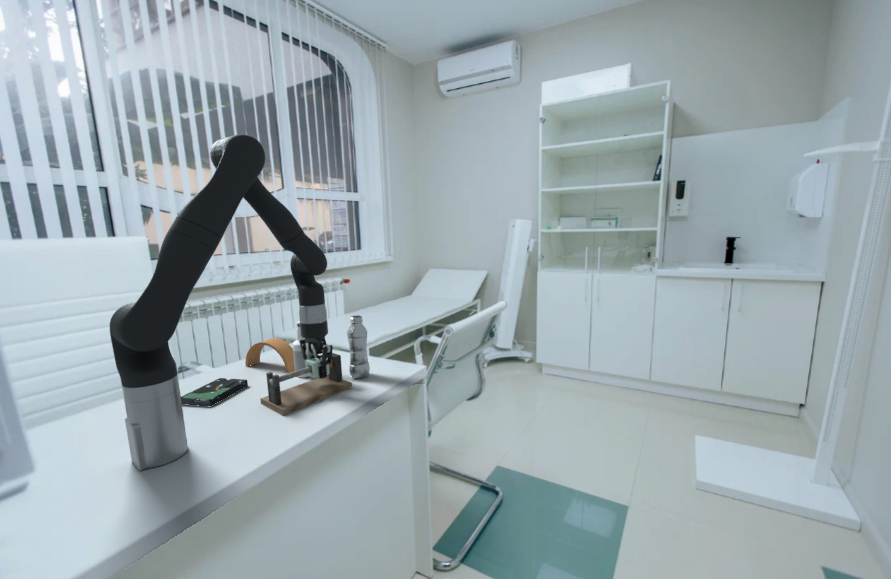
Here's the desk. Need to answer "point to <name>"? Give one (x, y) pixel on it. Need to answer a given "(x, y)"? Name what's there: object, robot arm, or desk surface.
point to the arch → (278, 346)
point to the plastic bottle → (358, 348)
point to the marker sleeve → (314, 367)
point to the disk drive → (214, 392)
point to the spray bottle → (298, 351)
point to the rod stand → (304, 388)
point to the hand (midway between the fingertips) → (318, 375)
